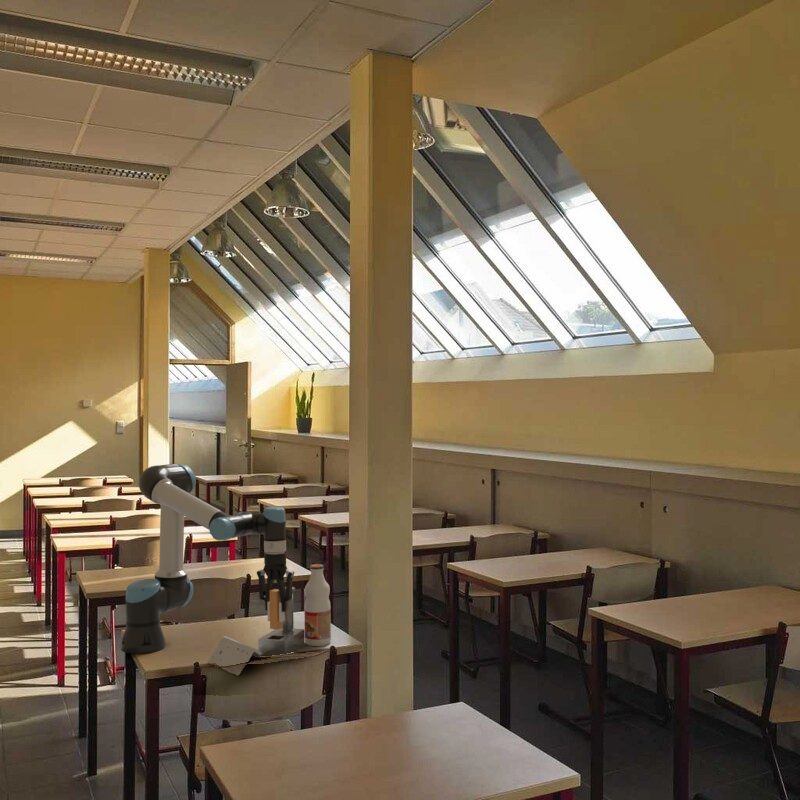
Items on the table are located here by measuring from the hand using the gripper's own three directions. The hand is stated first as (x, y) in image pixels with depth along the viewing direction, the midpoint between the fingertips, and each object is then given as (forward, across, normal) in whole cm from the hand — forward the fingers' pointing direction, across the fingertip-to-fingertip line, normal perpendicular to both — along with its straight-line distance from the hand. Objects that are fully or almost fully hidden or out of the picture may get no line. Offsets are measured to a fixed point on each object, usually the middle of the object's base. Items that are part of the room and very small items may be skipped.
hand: (276, 620), depth 284 cm
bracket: (+13, -6, -12) cm, 18 cm away
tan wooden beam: (+3, 0, 0) cm, 3 cm away
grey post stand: (+12, 0, +4) cm, 13 cm away
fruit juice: (+12, +8, +18) cm, 23 cm away
